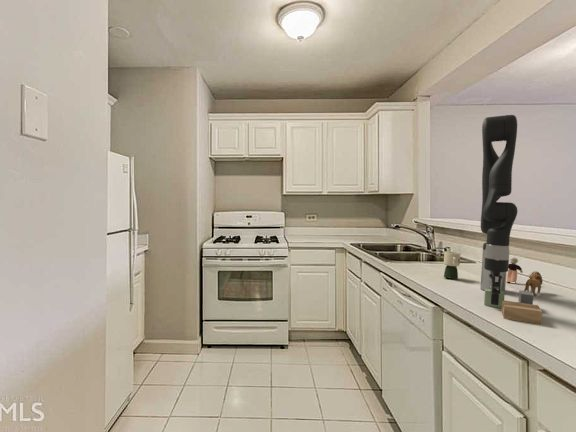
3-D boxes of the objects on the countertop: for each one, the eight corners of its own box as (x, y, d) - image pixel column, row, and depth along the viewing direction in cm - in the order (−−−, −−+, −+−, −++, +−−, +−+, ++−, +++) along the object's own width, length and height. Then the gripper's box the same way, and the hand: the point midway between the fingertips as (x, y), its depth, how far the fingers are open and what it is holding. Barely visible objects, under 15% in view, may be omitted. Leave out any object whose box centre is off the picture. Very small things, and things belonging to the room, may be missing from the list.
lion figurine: (527, 290, 154) (529, 269, 153) (542, 292, 150) (544, 271, 150) (522, 295, 143) (523, 274, 143) (537, 298, 139) (539, 276, 139)
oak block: (501, 311, 120) (502, 300, 120) (536, 317, 115) (537, 305, 115) (503, 318, 113) (504, 306, 112) (541, 324, 108) (542, 311, 108)
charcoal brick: (518, 305, 129) (519, 290, 129) (529, 306, 128) (530, 291, 127) (520, 309, 124) (521, 293, 124) (532, 310, 122) (533, 295, 122)
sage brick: (484, 305, 127) (485, 290, 126) (483, 303, 130) (484, 288, 130) (503, 308, 124) (504, 293, 124) (502, 306, 127) (503, 291, 127)
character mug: (461, 281, 165) (463, 254, 165) (445, 280, 167) (447, 253, 166) (455, 276, 176) (457, 251, 176) (440, 275, 178) (441, 250, 177)
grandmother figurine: (504, 283, 166) (506, 256, 165) (502, 281, 169) (503, 255, 169) (523, 284, 164) (525, 258, 163) (519, 283, 168) (521, 256, 167)
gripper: (484, 253, 134) (481, 295, 135) (485, 258, 121) (482, 304, 122) (507, 256, 131) (504, 298, 131) (511, 261, 118) (507, 308, 119)
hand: (493, 301), depth 127 cm, fingers open, 8 cm apart
